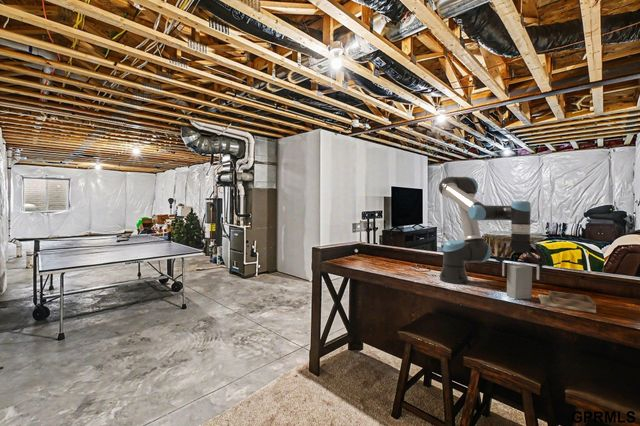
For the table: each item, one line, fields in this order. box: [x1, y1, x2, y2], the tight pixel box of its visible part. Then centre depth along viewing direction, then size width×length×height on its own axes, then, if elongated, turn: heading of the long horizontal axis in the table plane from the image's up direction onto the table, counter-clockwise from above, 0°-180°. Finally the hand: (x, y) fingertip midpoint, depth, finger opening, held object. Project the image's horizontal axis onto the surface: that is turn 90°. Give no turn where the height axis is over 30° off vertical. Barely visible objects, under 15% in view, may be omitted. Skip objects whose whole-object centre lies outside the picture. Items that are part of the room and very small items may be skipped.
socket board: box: [537, 290, 597, 314], centre depth 128 cm, size 18×13×4 cm
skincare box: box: [506, 263, 534, 300], centre depth 137 cm, size 8×7×16 cm
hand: (520, 277), depth 137 cm, fingers open, 13 cm apart
